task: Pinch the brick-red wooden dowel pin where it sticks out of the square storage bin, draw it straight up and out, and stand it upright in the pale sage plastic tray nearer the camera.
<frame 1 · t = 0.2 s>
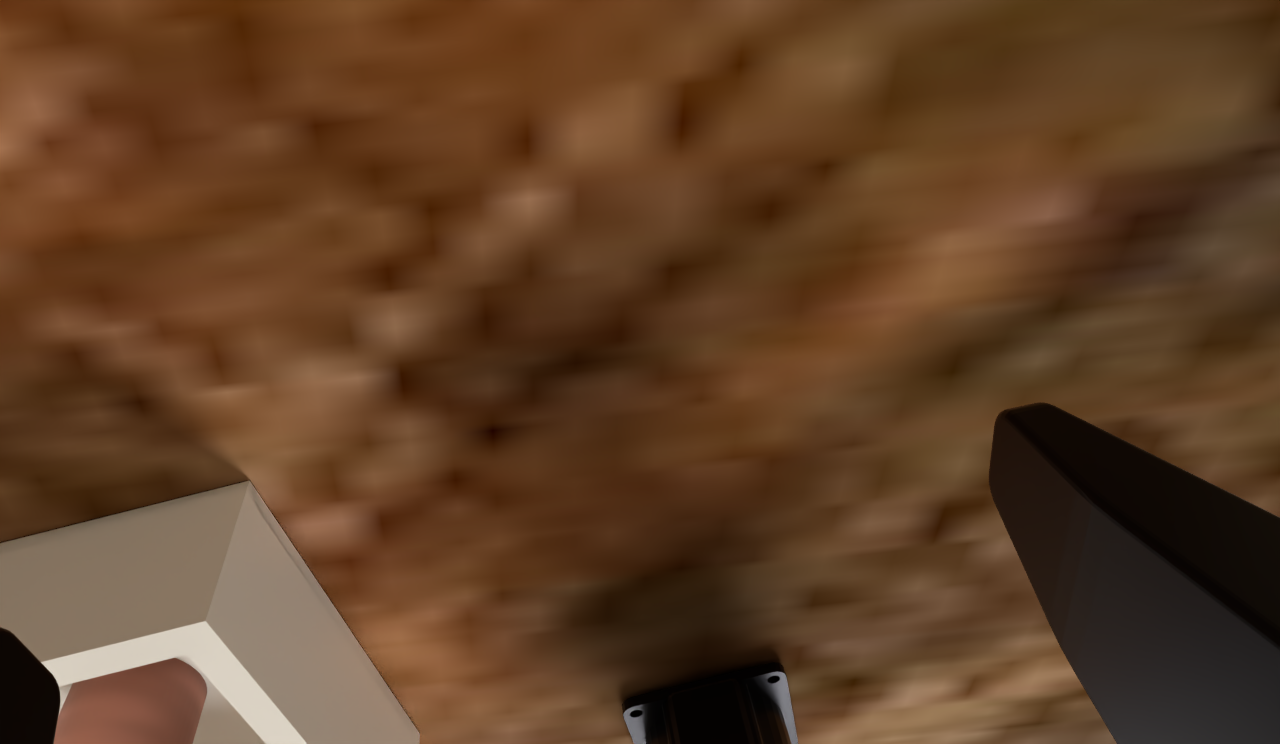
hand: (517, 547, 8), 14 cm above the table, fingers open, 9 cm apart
dowel pin: (142, 688, 29), resting on square storage bin
square storage bin: (146, 675, 30), on the table
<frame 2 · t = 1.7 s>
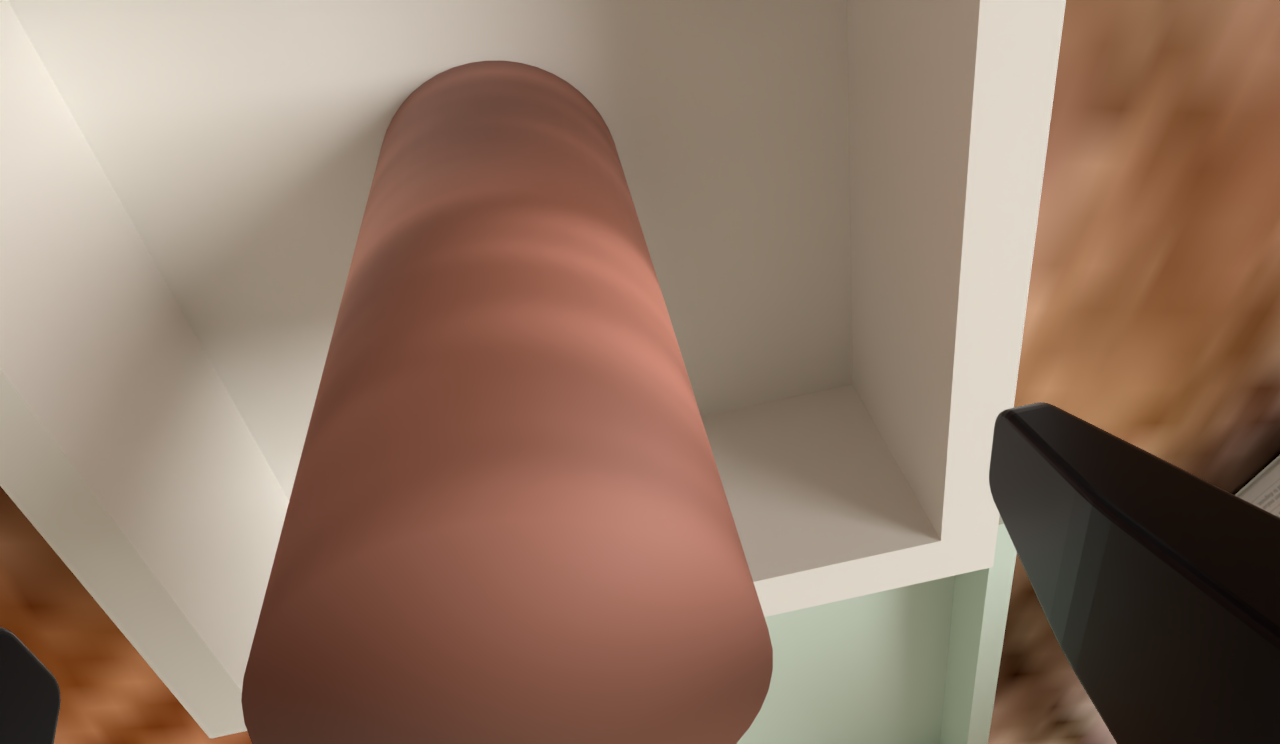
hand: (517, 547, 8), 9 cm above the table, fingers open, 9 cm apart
tray: (708, 658, 24), on the table
dowel pin: (502, 181, 15), resting on square storage bin
square storage bin: (501, 169, 15), on the table
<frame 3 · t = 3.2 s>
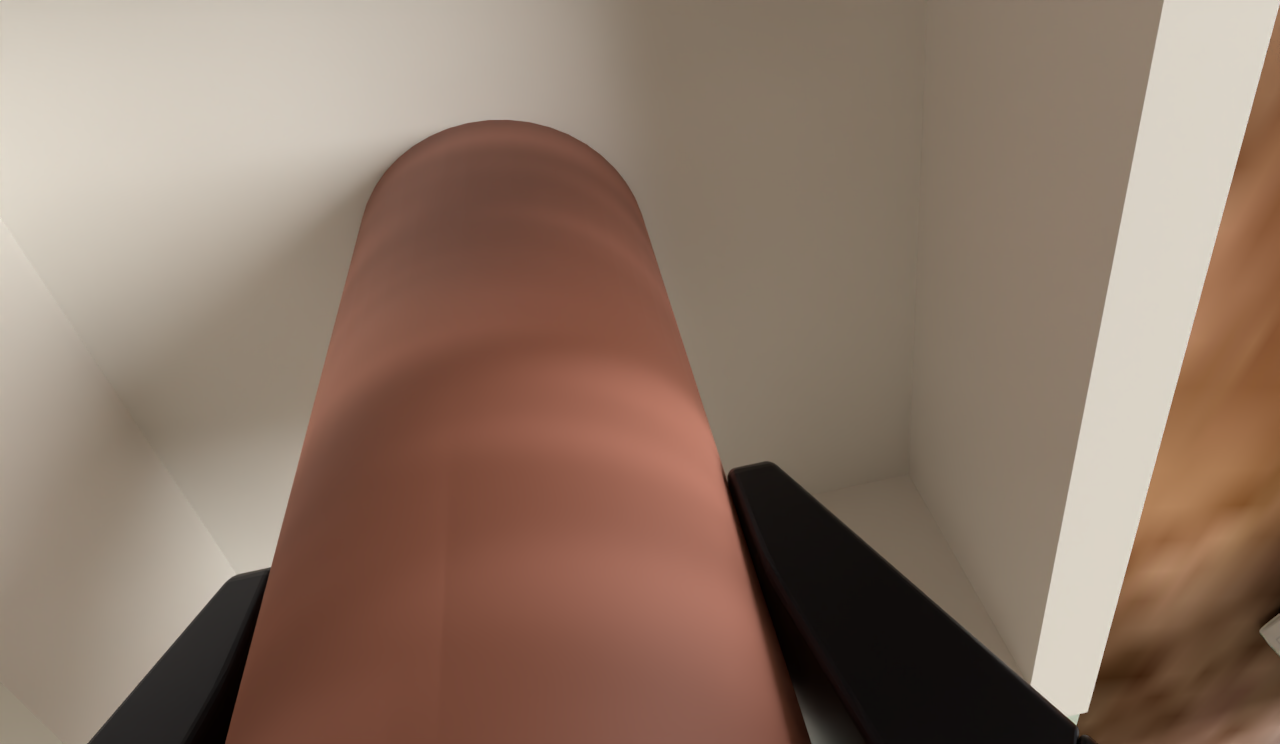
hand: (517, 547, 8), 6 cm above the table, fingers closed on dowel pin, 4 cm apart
dowel pin: (506, 258, 12), resting on square storage bin, touching gripper
square storage bin: (506, 242, 13), on the table
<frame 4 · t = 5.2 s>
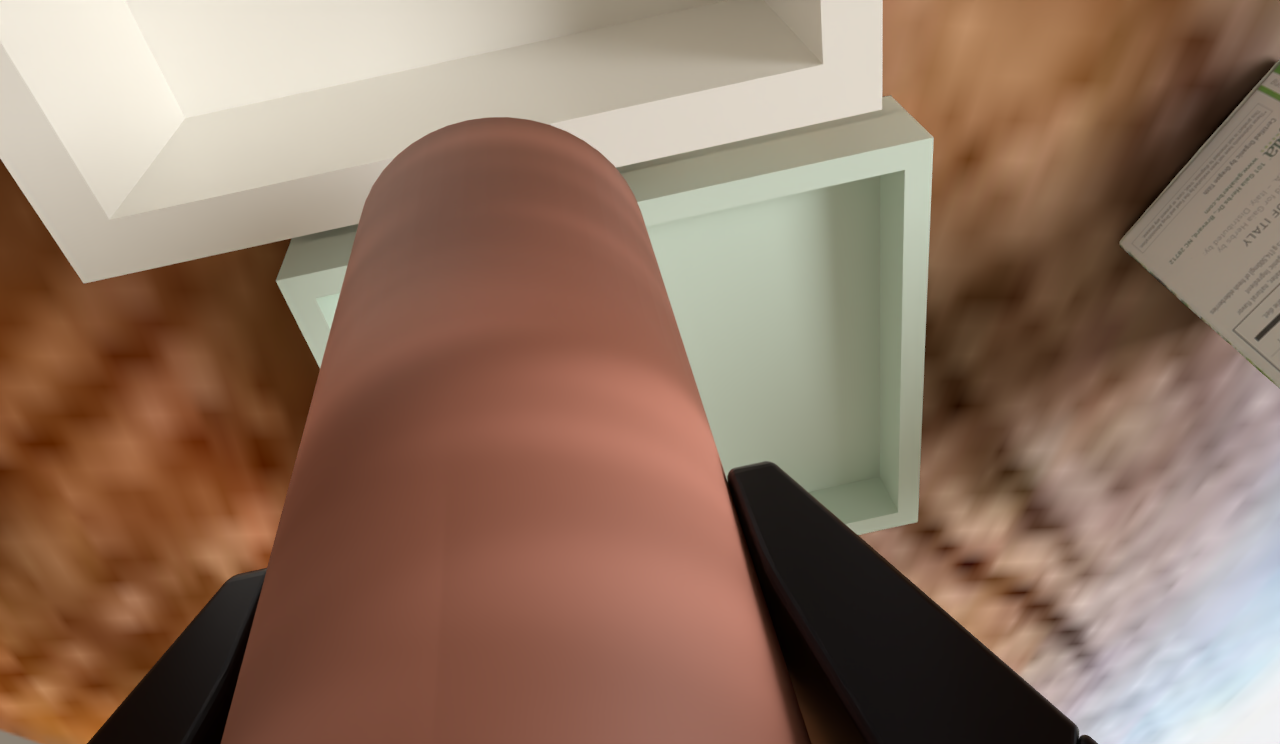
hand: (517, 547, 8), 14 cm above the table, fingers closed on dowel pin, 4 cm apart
tray: (637, 362, 24), on the table
dowel pin: (505, 256, 12), point 8 cm above the table, touching gripper
syrup box: (1249, 193, 24), on the table
when the fingers open (8 cm above the table, at t = 7.3 s): dowel pin drops 1 cm, resting on tray.
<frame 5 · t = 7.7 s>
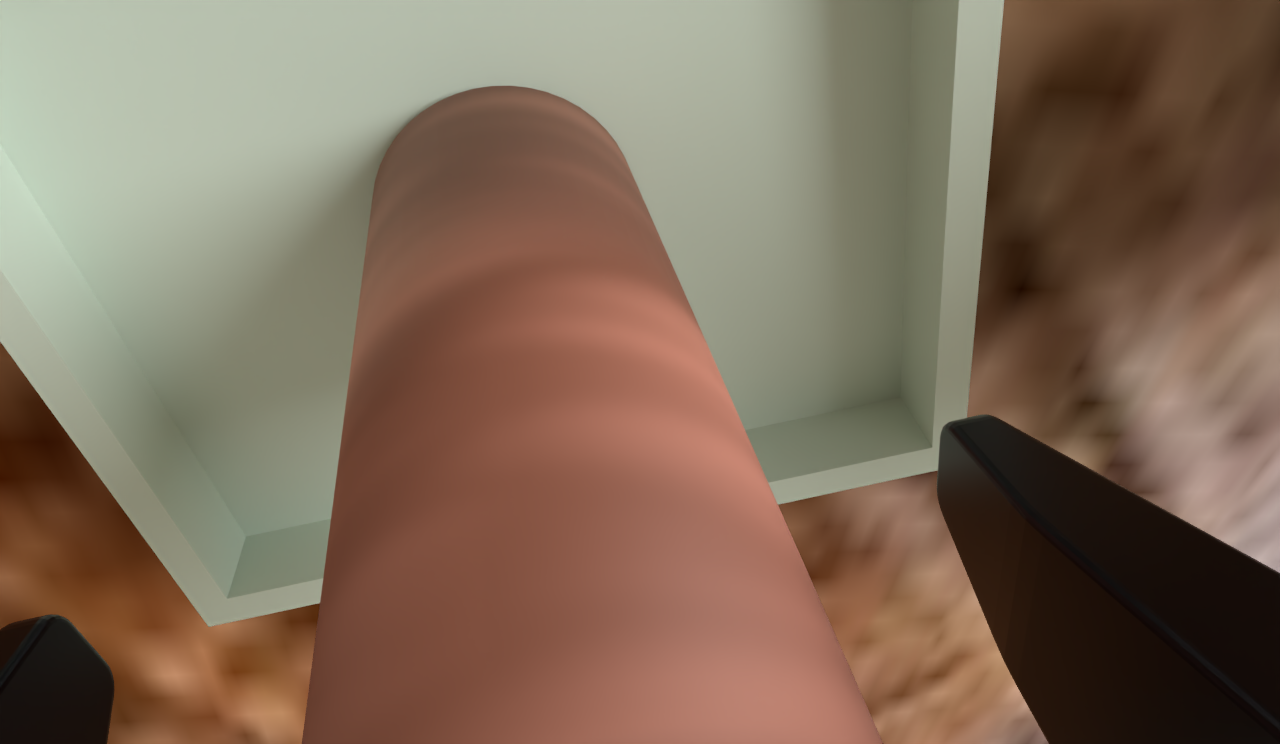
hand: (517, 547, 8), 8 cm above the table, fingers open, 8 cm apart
tray: (505, 187, 14), on the table
dowel pin: (507, 215, 13), point 1 cm above the table, touching tray
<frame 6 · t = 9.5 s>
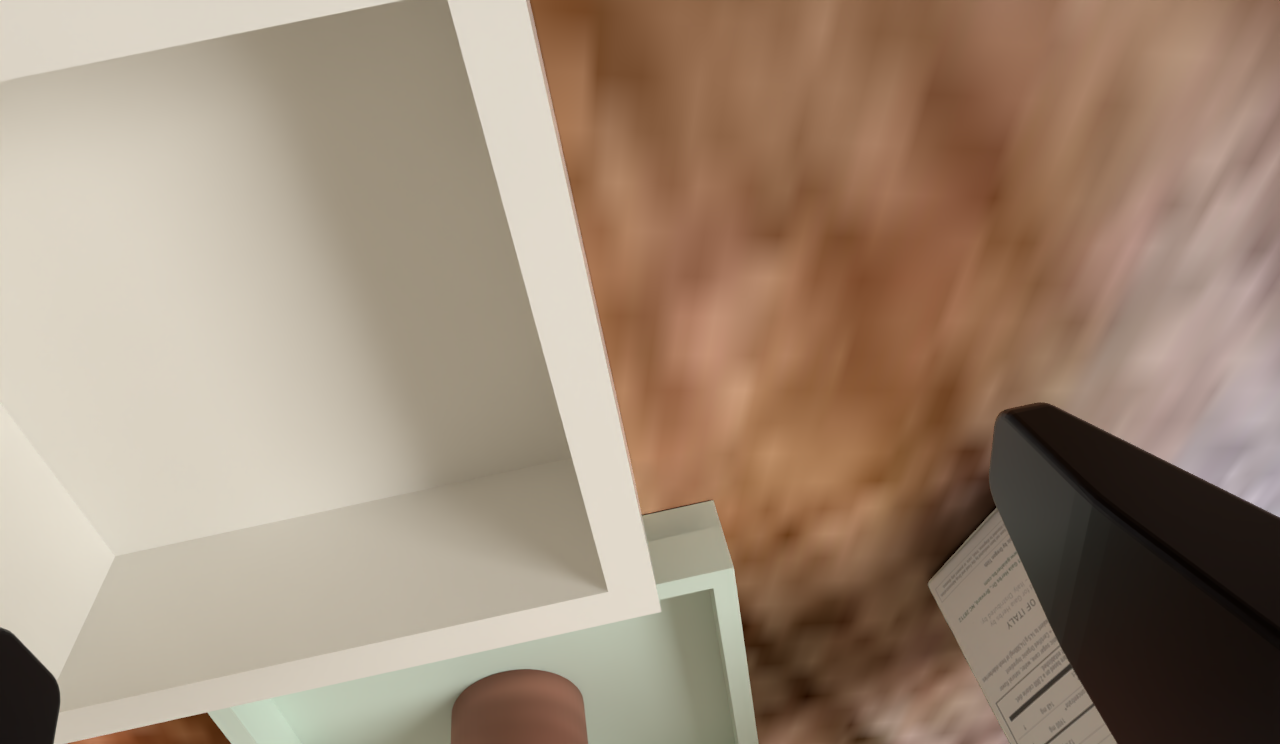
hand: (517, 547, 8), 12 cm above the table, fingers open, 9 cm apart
tray: (516, 683, 28), on the table
dowel pin: (518, 710, 27), point 1 cm above the table, touching tray
syrup box: (1038, 540, 28), on the table
square storage bin: (259, 290, 19), on the table
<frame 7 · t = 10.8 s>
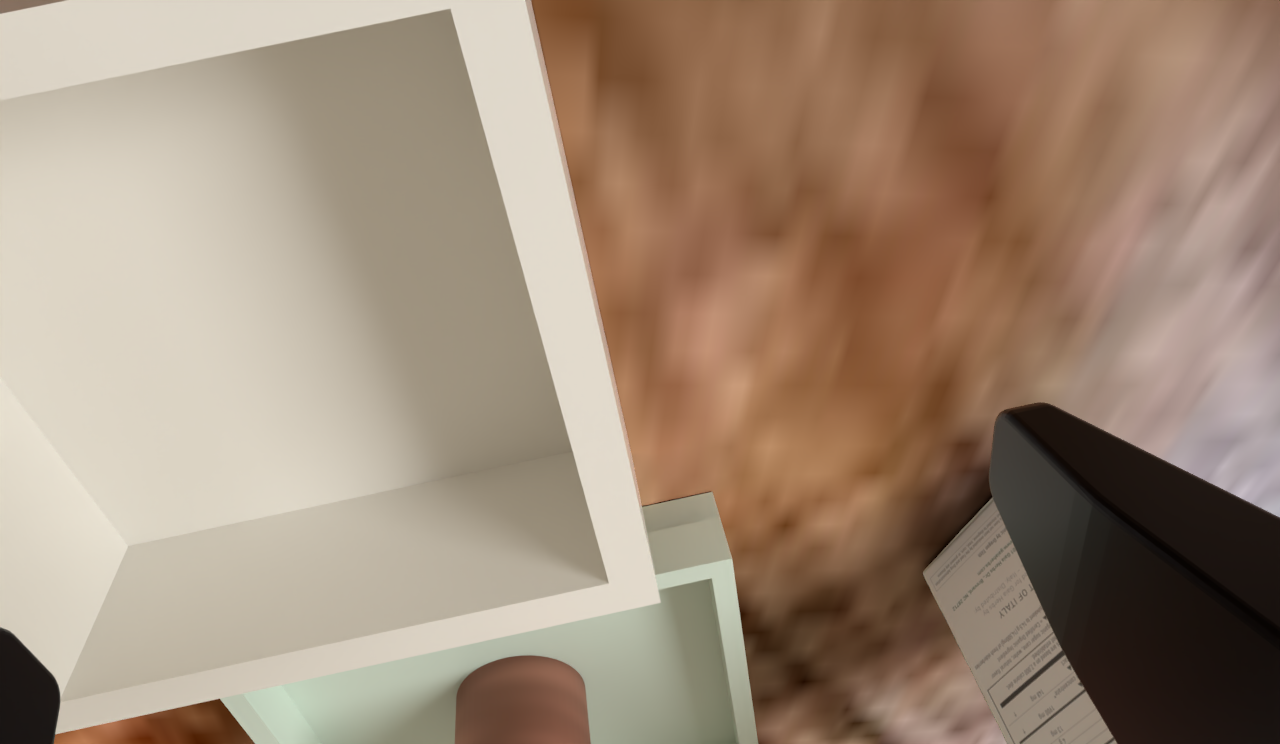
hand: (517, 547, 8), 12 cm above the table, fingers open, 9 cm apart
tray: (519, 668, 28), on the table
dowel pin: (521, 695, 27), point 1 cm above the table, touching tray
syrup box: (1031, 531, 28), on the table
square storage bin: (267, 289, 19), on the table
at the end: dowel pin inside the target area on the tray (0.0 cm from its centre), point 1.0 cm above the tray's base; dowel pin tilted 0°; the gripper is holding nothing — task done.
